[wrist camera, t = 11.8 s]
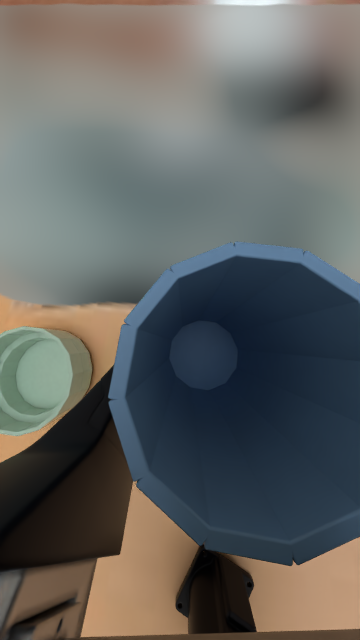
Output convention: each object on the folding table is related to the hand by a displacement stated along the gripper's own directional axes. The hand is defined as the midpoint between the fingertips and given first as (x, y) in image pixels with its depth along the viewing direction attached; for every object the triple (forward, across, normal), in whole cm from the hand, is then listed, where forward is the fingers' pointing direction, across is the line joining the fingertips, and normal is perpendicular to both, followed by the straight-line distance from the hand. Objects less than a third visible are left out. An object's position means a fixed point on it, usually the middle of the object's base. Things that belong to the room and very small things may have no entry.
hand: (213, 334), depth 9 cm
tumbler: (+3, 0, +5) cm, 6 cm away
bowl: (+7, +20, +12) cm, 24 cm away
